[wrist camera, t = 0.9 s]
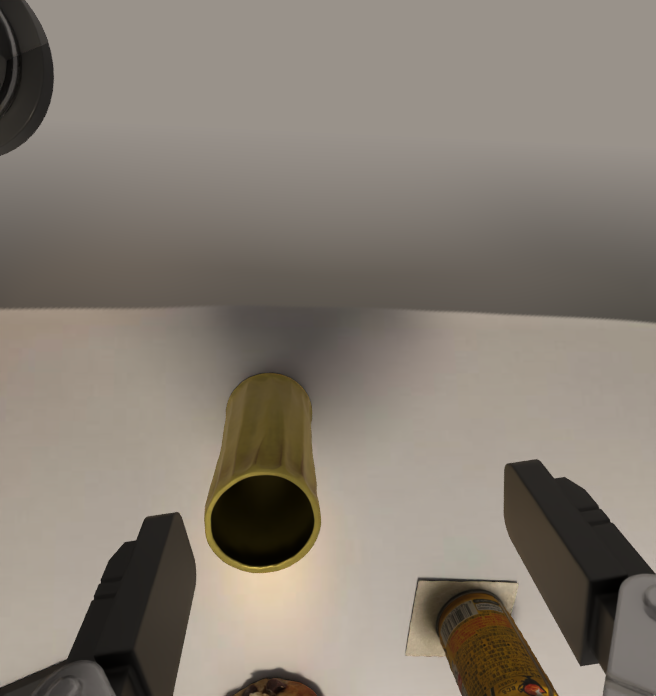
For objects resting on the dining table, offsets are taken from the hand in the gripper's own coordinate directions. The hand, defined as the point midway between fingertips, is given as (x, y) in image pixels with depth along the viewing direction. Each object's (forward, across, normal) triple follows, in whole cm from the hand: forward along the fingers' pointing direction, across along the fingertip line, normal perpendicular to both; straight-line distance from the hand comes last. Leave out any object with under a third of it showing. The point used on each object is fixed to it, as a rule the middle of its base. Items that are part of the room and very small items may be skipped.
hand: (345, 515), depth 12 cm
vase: (+22, +4, +9) cm, 25 cm away
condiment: (+20, -8, +30) cm, 36 cm away
